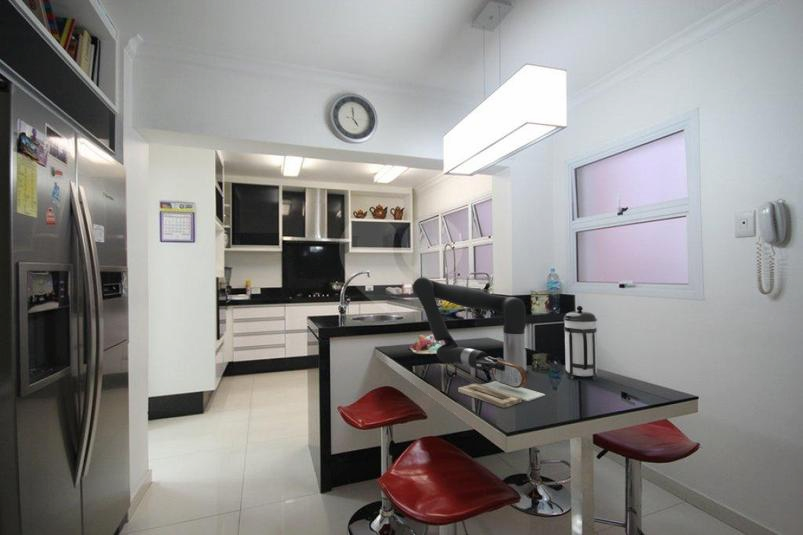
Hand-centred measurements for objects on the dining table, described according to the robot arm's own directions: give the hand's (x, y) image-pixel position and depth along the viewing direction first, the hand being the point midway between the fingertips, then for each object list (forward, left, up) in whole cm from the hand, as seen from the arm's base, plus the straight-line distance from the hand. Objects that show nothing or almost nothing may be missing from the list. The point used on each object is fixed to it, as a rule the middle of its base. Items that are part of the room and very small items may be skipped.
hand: (506, 367), depth 142 cm
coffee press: (-38, +8, -9) cm, 40 cm away
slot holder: (+12, +1, -8) cm, 15 cm away
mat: (0, +2, -8) cm, 9 cm away
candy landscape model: (-25, -77, -9) cm, 82 cm away
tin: (0, +1, -7) cm, 7 cm away
